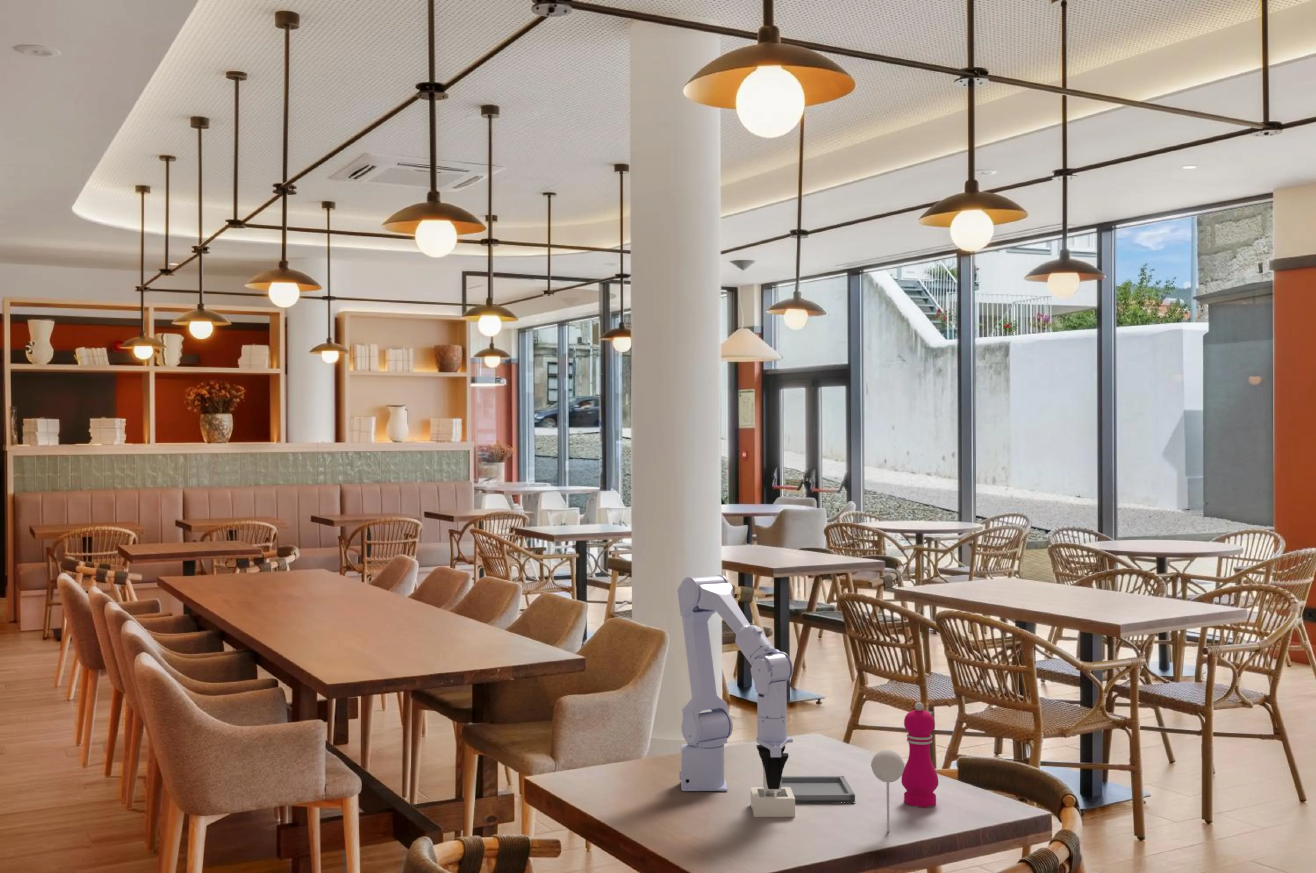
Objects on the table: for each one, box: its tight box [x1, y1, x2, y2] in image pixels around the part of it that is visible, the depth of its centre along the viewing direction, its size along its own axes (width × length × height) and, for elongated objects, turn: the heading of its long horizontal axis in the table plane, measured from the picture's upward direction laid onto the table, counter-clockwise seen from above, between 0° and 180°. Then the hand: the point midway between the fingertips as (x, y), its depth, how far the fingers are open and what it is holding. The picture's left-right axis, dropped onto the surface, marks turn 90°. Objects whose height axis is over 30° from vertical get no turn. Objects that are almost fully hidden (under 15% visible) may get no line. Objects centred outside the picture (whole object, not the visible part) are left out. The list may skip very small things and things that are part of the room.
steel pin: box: [762, 764, 781, 797], centre depth 223 cm, size 4×4×9 cm
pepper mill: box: [900, 701, 939, 808], centre depth 228 cm, size 7×7×20 cm
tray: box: [781, 775, 856, 804], centre depth 235 cm, size 16×14×2 cm
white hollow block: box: [750, 786, 796, 818], centre depth 223 cm, size 8×8×4 cm
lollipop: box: [870, 748, 905, 833], centre depth 210 cm, size 6×6×15 cm
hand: (772, 785), depth 223 cm, fingers open, 4 cm apart
